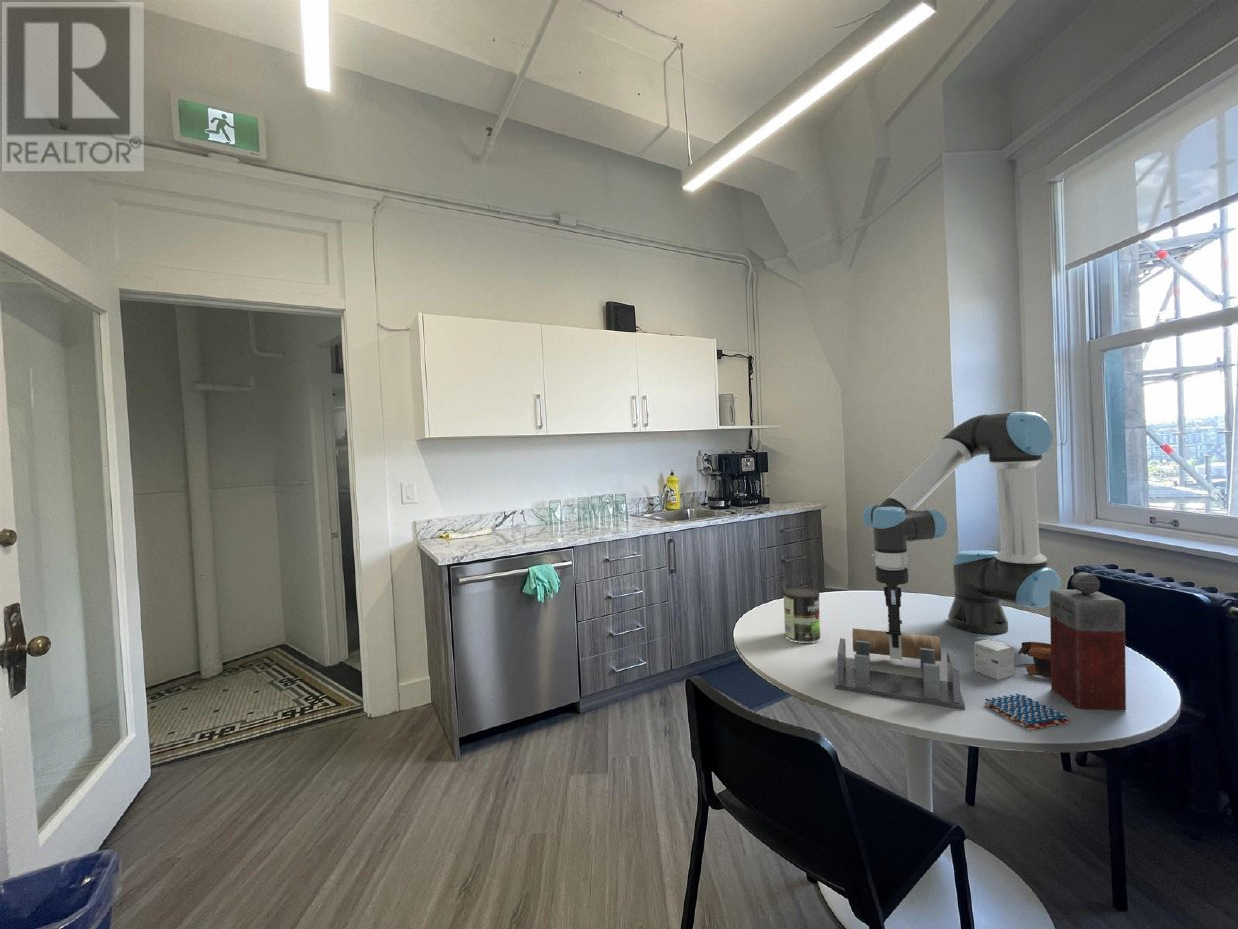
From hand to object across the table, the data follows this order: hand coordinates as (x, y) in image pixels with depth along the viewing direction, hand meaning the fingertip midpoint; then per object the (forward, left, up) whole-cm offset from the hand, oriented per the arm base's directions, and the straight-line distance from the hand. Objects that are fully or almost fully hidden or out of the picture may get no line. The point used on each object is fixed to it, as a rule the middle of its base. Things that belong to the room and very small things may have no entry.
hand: (895, 653), depth 134 cm
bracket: (+1, +15, -3) cm, 15 cm away
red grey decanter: (-36, +5, -3) cm, 37 cm away
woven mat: (-23, +18, -3) cm, 30 cm away
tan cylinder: (0, 0, -1) cm, 1 cm away
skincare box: (-21, -2, -3) cm, 22 cm away
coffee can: (+25, -10, -3) cm, 27 cm away
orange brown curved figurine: (-33, -7, -3) cm, 34 cm away
